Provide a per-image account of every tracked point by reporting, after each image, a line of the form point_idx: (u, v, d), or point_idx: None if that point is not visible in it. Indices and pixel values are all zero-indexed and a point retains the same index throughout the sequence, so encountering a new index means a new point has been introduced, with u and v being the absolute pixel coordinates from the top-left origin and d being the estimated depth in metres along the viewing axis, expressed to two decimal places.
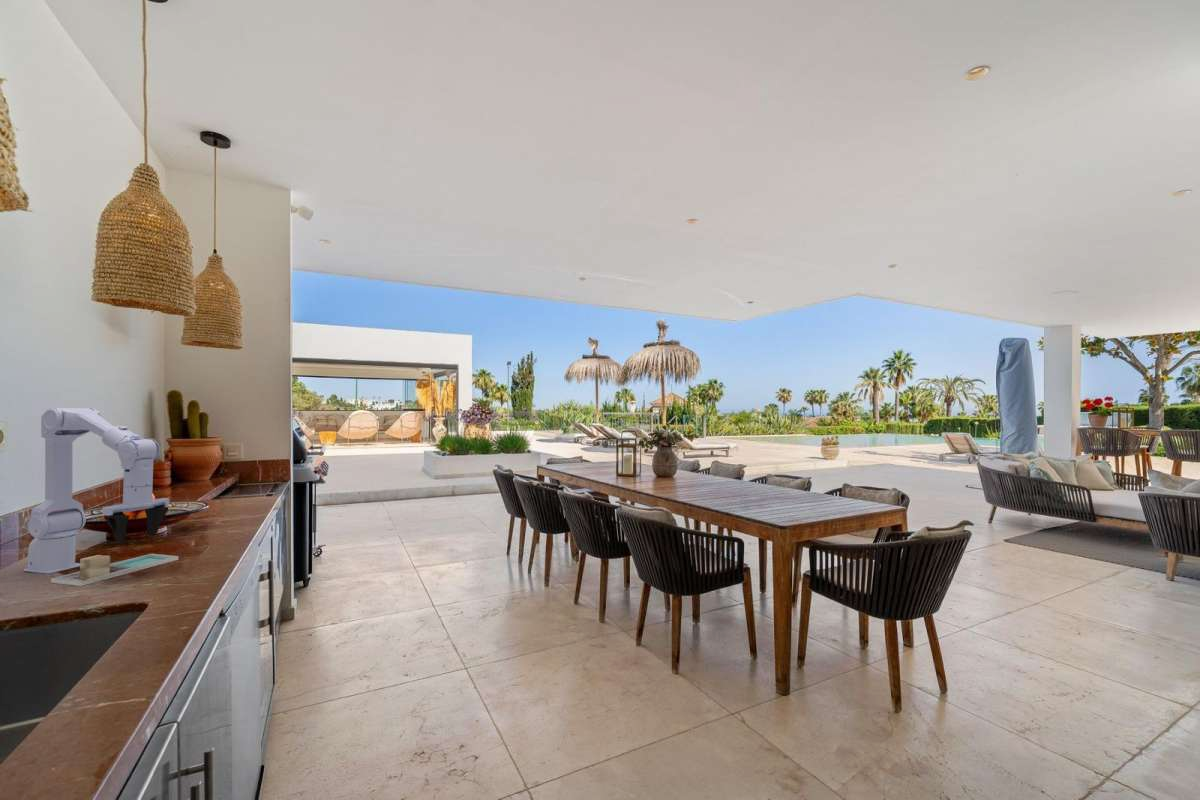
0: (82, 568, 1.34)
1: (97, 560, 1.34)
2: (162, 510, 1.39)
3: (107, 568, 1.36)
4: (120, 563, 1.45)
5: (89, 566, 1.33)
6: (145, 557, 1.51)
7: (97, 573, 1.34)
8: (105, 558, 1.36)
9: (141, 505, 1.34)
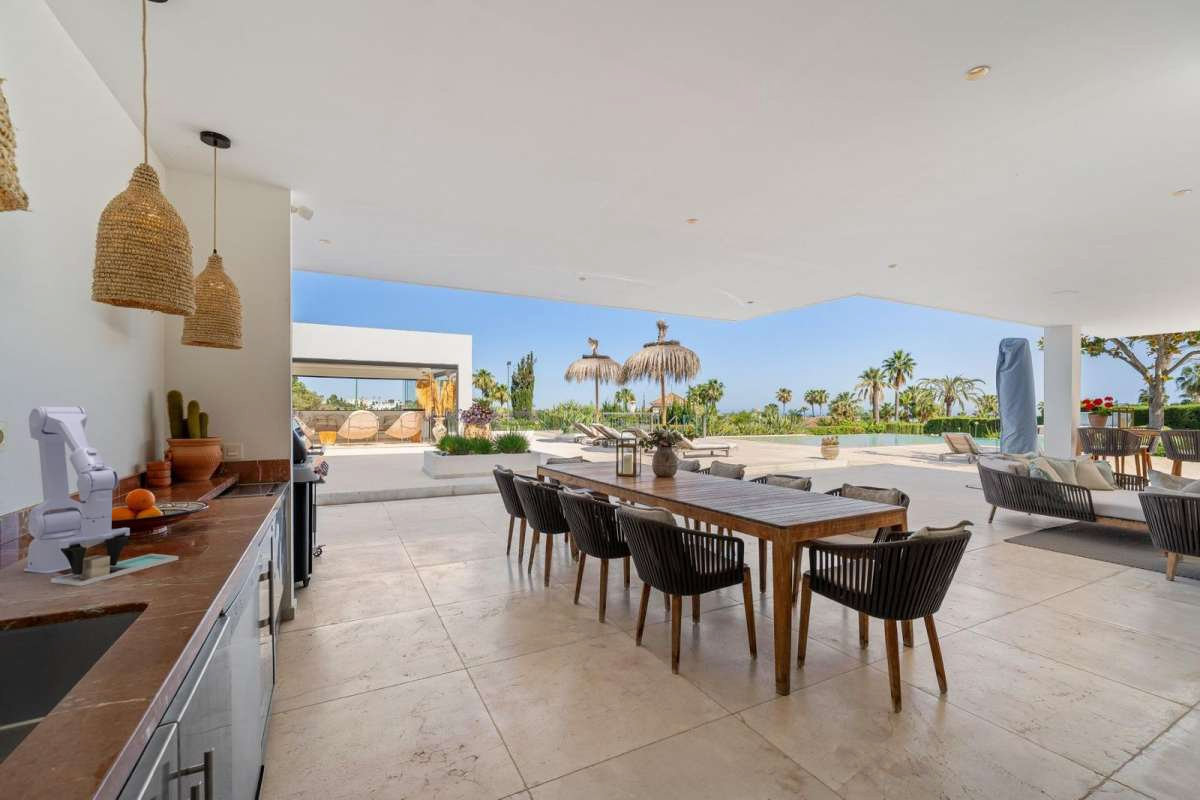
0: None
1: (97, 560, 1.34)
2: (122, 540, 1.39)
3: (107, 568, 1.36)
4: (120, 563, 1.45)
5: (89, 566, 1.33)
6: (145, 557, 1.51)
7: (97, 573, 1.34)
8: (105, 558, 1.36)
9: (99, 536, 1.34)
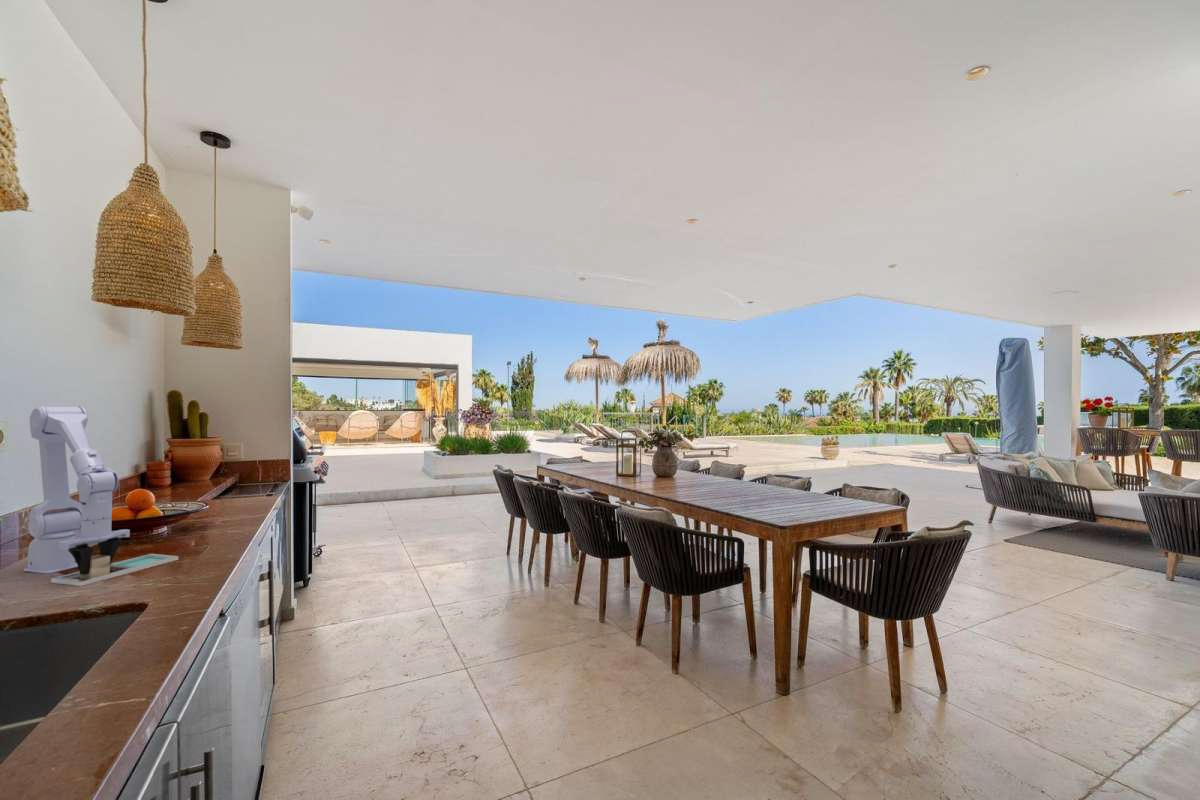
0: None
1: (97, 560, 1.34)
2: (115, 543, 1.37)
3: (107, 568, 1.36)
4: (120, 563, 1.45)
5: None
6: (145, 557, 1.51)
7: (97, 572, 1.34)
8: (105, 558, 1.36)
9: (99, 538, 1.34)
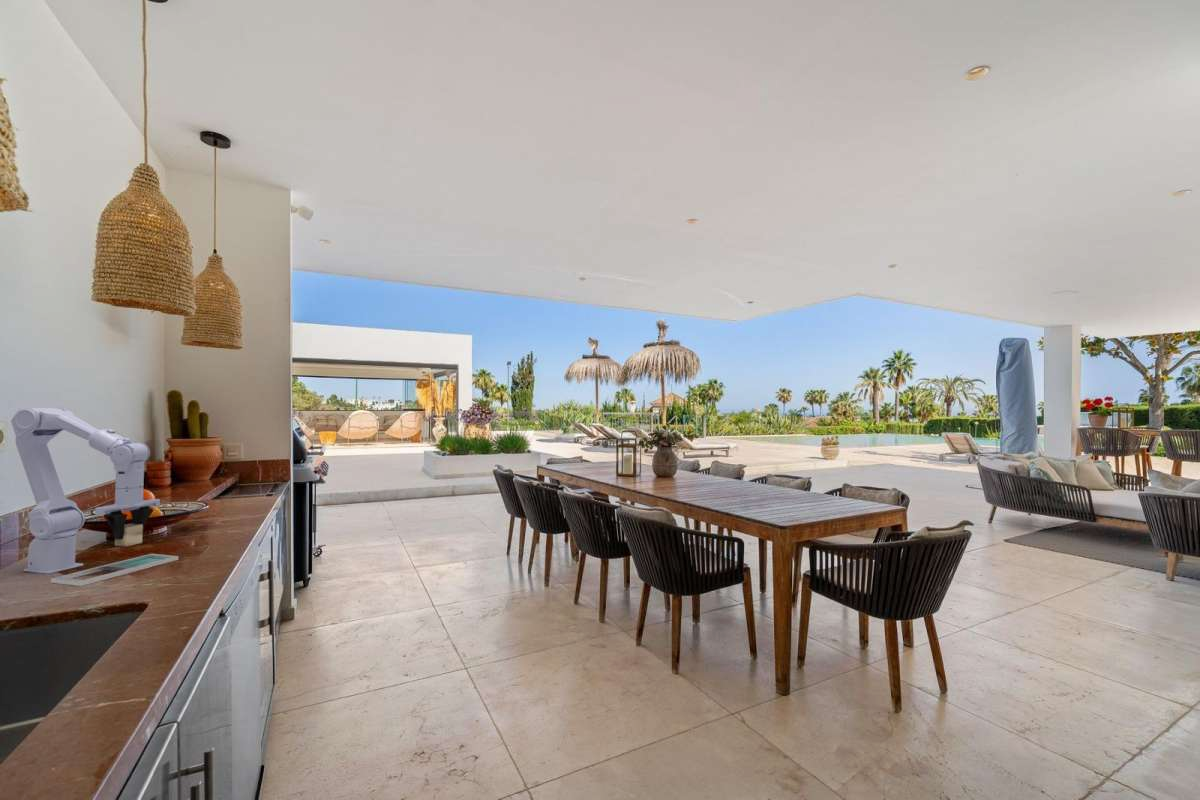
0: None
1: (131, 528, 1.41)
2: (147, 511, 1.45)
3: (140, 536, 1.44)
4: (120, 563, 1.45)
5: (124, 533, 1.40)
6: (145, 557, 1.51)
7: (131, 539, 1.41)
8: (138, 526, 1.43)
9: (132, 505, 1.41)
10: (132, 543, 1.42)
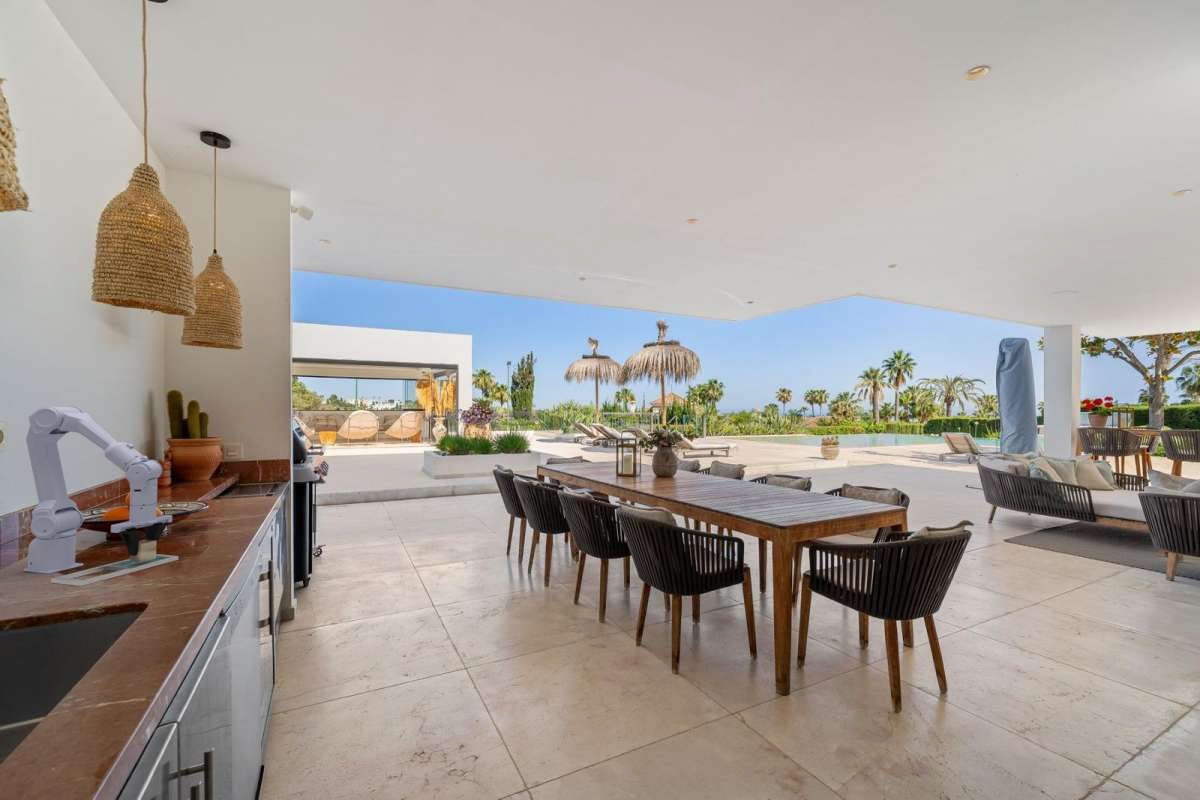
0: None
1: (145, 544, 1.45)
2: (160, 527, 1.48)
3: (154, 552, 1.47)
4: (120, 563, 1.45)
5: (139, 549, 1.44)
6: None
7: (146, 556, 1.45)
8: (152, 542, 1.47)
9: (146, 522, 1.45)
10: (146, 559, 1.45)
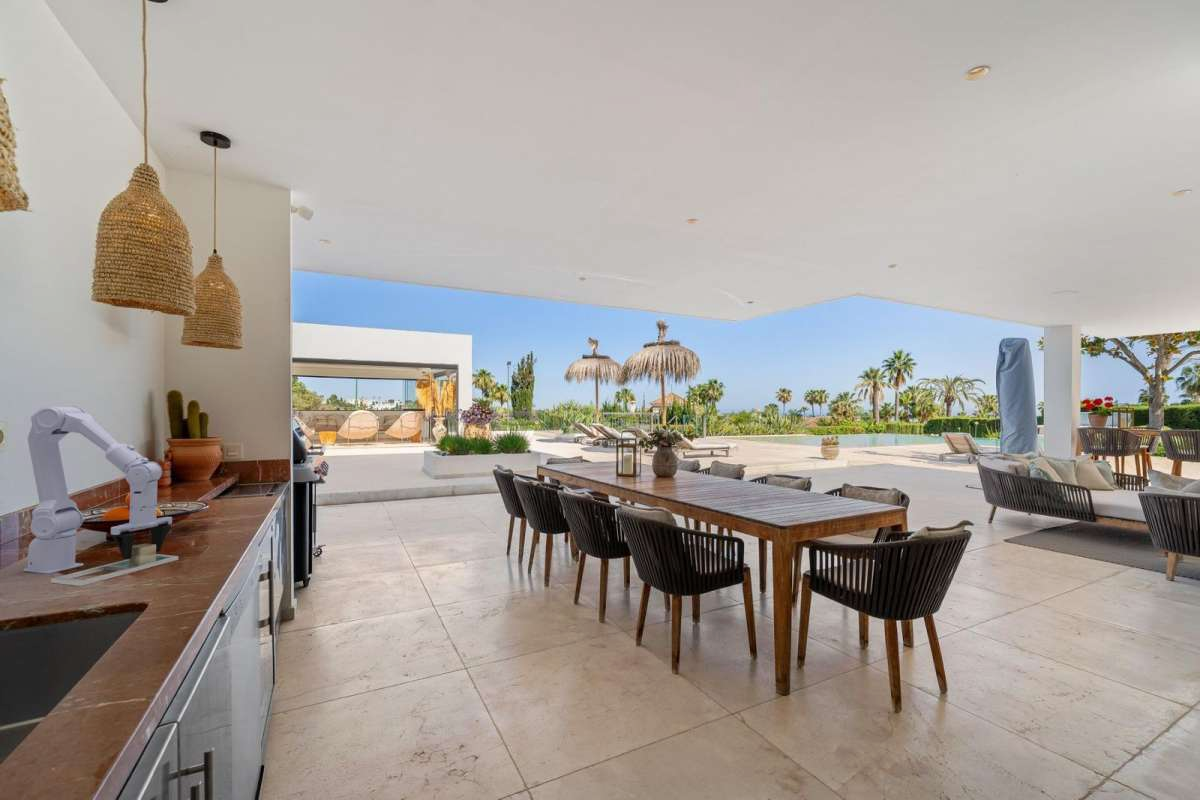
0: None
1: (145, 548, 1.45)
2: (165, 528, 1.50)
3: (153, 555, 1.47)
4: (120, 563, 1.45)
5: (138, 553, 1.44)
6: None
7: (145, 560, 1.45)
8: (152, 546, 1.47)
9: (146, 524, 1.45)
10: (146, 563, 1.45)
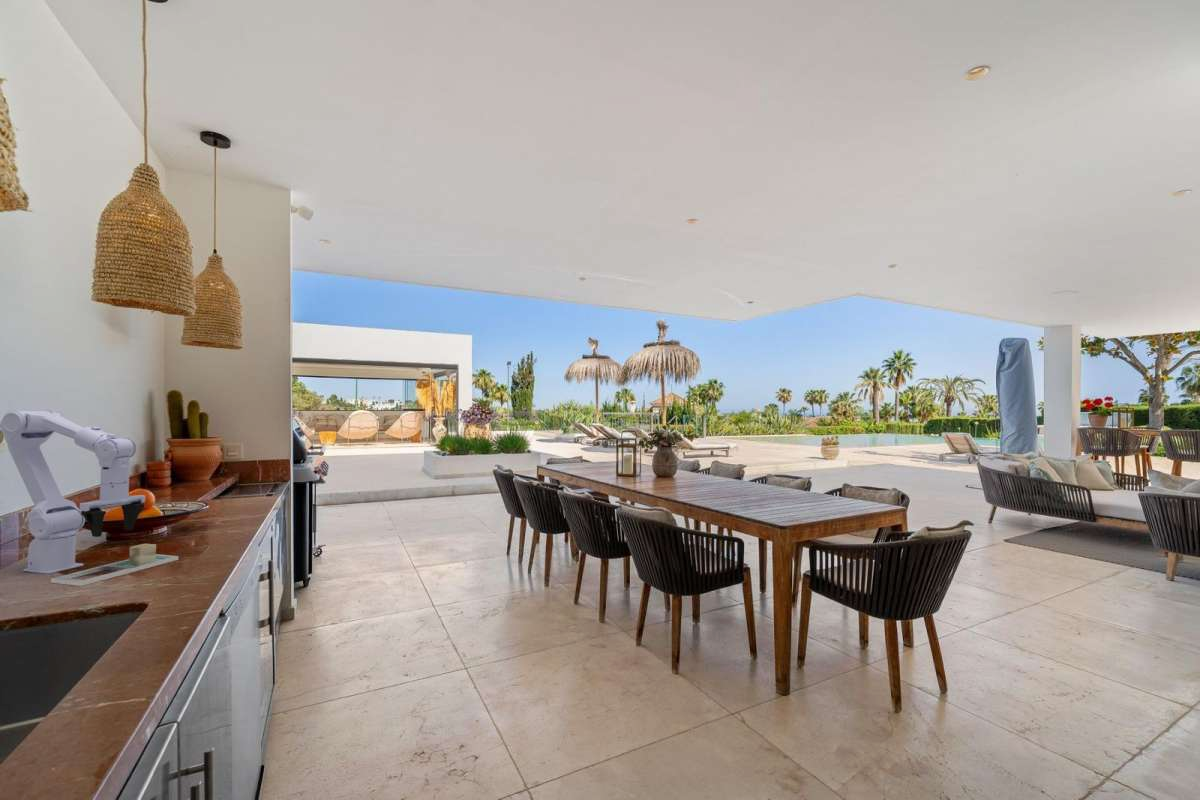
0: (131, 555, 1.44)
1: (145, 548, 1.45)
2: (138, 506, 1.45)
3: (153, 555, 1.47)
4: (120, 563, 1.45)
5: (138, 553, 1.44)
6: None
7: (145, 560, 1.45)
8: (152, 546, 1.47)
9: (117, 501, 1.40)
10: (146, 563, 1.45)
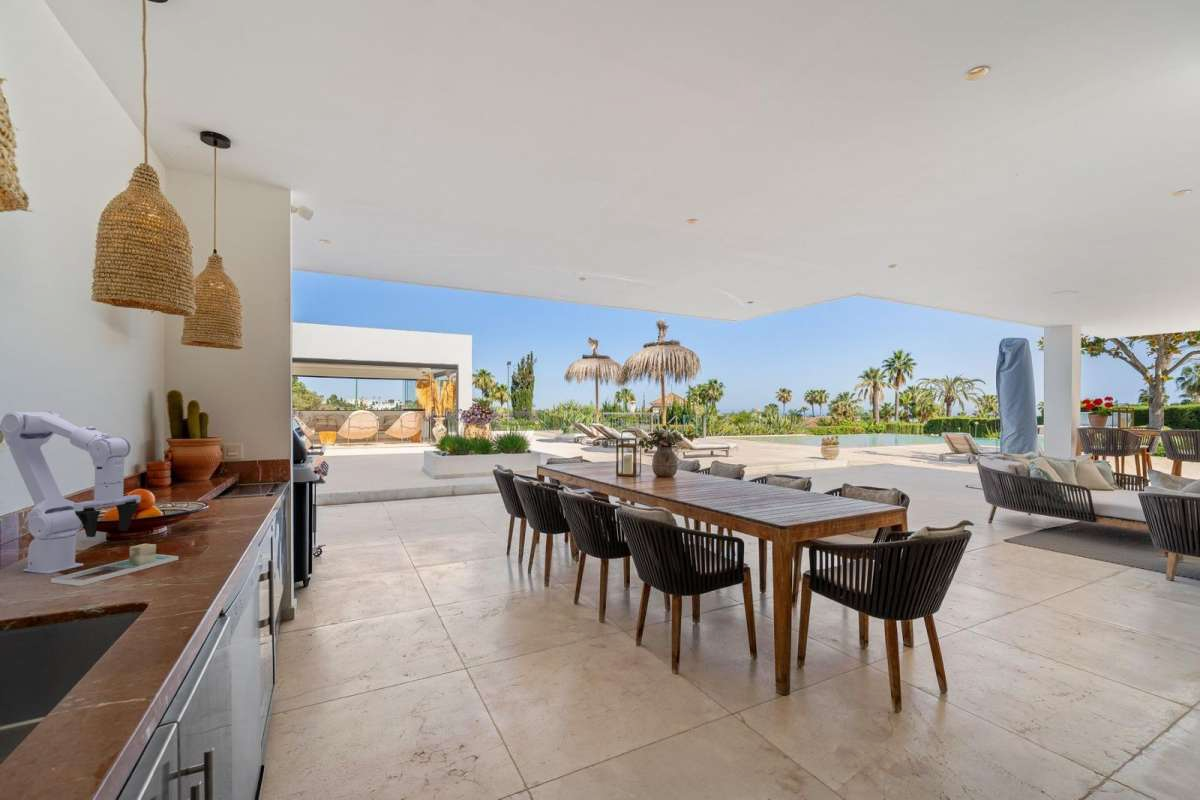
0: (131, 555, 1.44)
1: (145, 548, 1.45)
2: (133, 506, 1.44)
3: (153, 555, 1.47)
4: (120, 563, 1.45)
5: (138, 553, 1.44)
6: None
7: (145, 560, 1.45)
8: (152, 546, 1.47)
9: (112, 501, 1.39)
10: (146, 563, 1.45)
